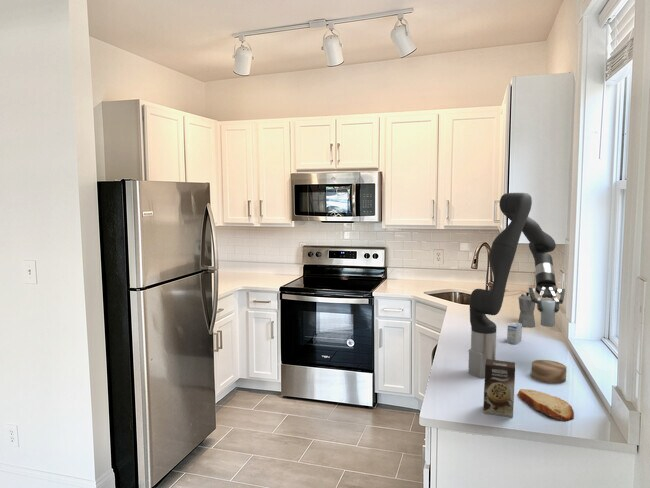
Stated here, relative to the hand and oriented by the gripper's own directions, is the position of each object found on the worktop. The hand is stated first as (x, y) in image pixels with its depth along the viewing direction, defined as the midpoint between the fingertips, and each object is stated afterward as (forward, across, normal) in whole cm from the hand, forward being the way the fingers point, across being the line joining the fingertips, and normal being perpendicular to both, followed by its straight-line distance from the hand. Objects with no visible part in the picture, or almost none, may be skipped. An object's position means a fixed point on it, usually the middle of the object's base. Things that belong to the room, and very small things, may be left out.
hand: (548, 311), depth 190 cm
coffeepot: (-29, -2, +65) cm, 71 cm away
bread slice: (+45, -6, -12) cm, 47 cm away
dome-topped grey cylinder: (+3, 0, +6) cm, 6 cm away
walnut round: (+25, -1, +8) cm, 26 cm away
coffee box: (+50, -21, -19) cm, 57 cm away
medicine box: (-6, -10, +40) cm, 41 cm away
